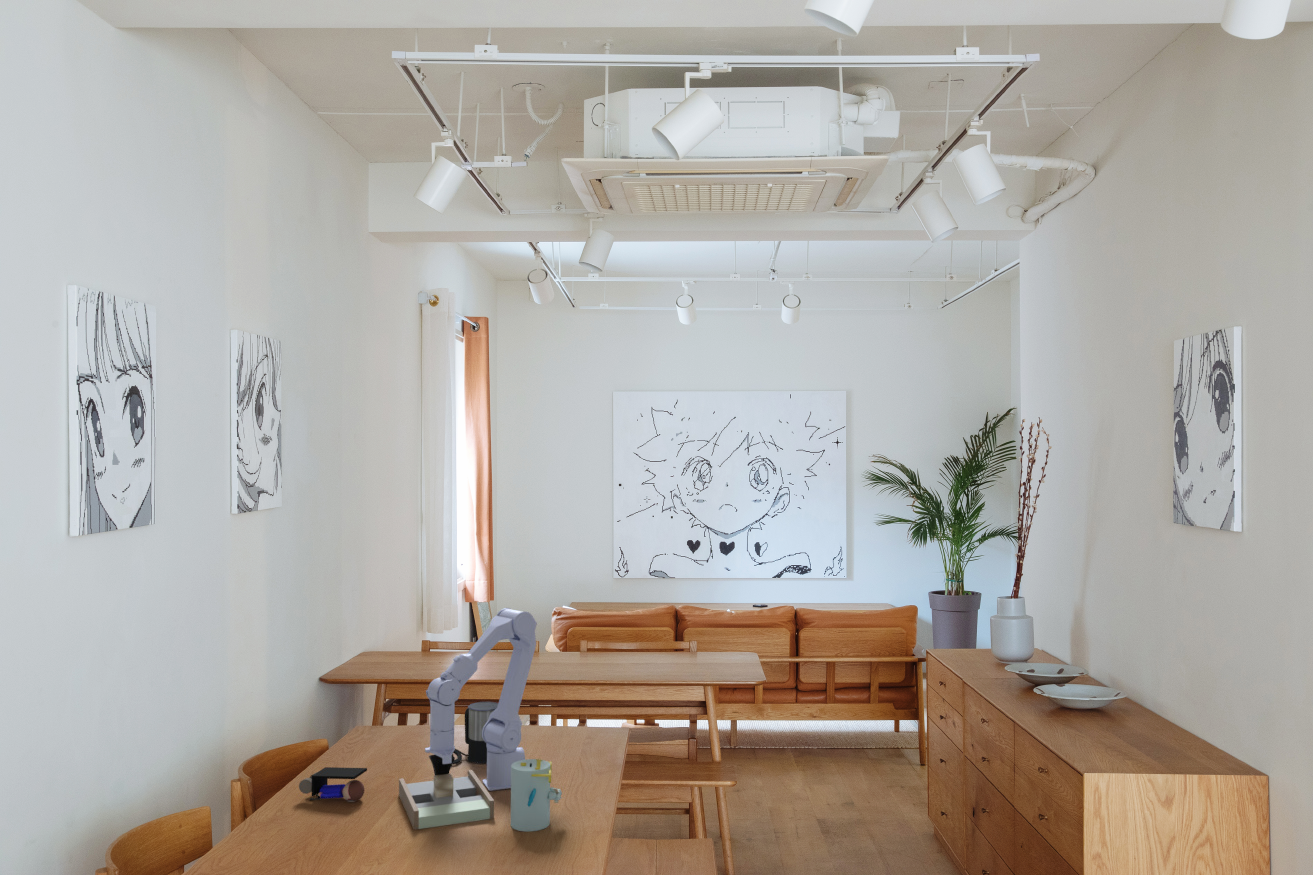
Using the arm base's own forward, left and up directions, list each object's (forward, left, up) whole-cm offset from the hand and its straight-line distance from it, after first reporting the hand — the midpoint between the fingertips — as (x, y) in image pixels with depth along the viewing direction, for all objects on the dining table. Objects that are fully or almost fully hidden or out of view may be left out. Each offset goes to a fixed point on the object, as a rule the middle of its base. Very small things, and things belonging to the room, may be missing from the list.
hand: (441, 785), depth 224 cm
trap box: (0, +5, -3) cm, 6 cm away
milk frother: (-13, -28, -4) cm, 31 cm away
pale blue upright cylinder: (-17, +24, -4) cm, 29 cm away
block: (0, +3, -1) cm, 4 cm away
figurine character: (+24, -10, -4) cm, 26 cm away
